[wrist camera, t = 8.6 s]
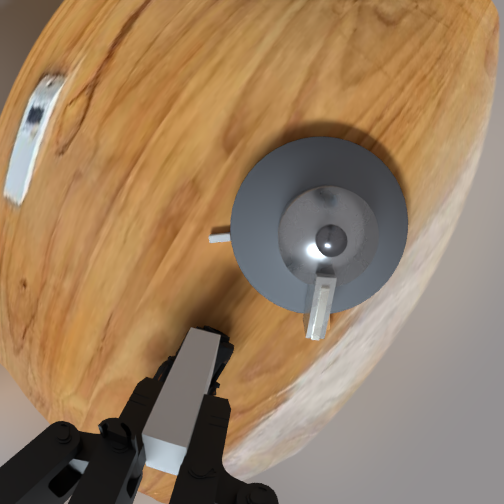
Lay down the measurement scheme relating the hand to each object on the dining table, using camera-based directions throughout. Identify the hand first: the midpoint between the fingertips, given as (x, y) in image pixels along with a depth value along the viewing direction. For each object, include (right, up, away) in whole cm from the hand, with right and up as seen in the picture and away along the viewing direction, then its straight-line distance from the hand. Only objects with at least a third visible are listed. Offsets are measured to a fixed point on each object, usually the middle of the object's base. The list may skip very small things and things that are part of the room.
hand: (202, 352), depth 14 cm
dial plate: (+9, +7, +18) cm, 22 cm away
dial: (+10, +5, +17) cm, 20 cm away
